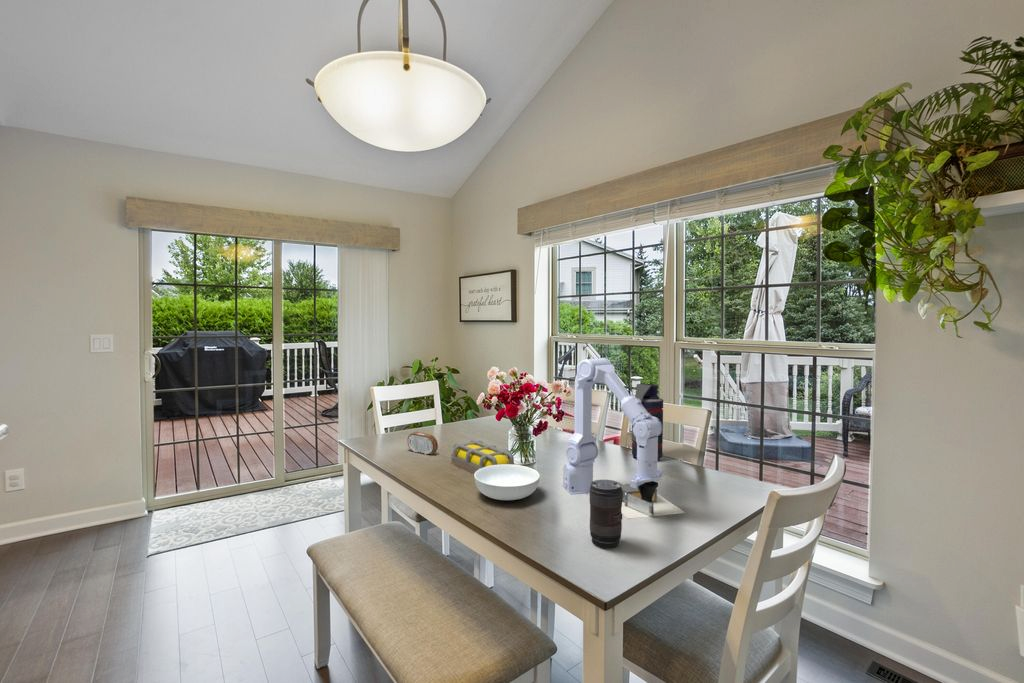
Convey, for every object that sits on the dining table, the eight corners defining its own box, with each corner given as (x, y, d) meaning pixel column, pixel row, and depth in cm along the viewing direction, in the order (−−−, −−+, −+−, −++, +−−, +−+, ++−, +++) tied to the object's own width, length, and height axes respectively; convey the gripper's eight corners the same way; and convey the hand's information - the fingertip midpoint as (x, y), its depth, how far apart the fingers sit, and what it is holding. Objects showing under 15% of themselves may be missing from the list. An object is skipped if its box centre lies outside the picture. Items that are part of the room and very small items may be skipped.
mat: (628, 519, 134) (628, 518, 134) (604, 498, 150) (604, 497, 150) (685, 513, 138) (685, 512, 138) (656, 493, 154) (656, 492, 154)
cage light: (475, 436, 196) (522, 452, 173) (475, 456, 196) (522, 474, 173) (444, 442, 187) (490, 460, 164) (444, 462, 187) (490, 483, 164)
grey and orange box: (623, 505, 144) (623, 490, 143) (614, 498, 149) (614, 483, 149) (656, 502, 146) (657, 487, 146) (646, 495, 152) (647, 480, 152)
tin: (438, 455, 197) (438, 434, 197) (433, 456, 194) (433, 436, 194) (411, 449, 205) (411, 430, 205) (406, 451, 202) (406, 431, 202)
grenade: (643, 452, 202) (644, 381, 200) (668, 458, 192) (669, 384, 191) (622, 458, 193) (623, 384, 191) (647, 465, 184) (648, 387, 182)
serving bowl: (486, 512, 139) (486, 489, 139) (466, 488, 159) (466, 468, 158) (551, 502, 147) (551, 480, 147) (523, 480, 166) (523, 461, 166)
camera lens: (617, 534, 125) (617, 478, 124) (625, 549, 117) (626, 489, 116) (586, 535, 125) (586, 478, 124) (592, 550, 117) (593, 489, 116)
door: (623, 505, 143) (623, 493, 143) (626, 504, 144) (626, 492, 144) (651, 517, 135) (651, 504, 135) (653, 516, 136) (654, 503, 135)
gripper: (646, 468, 129) (645, 517, 130) (672, 457, 140) (671, 503, 140) (623, 462, 135) (623, 510, 135) (650, 452, 145) (650, 496, 145)
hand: (646, 506), depth 138 cm, fingers closed, pressing on door
